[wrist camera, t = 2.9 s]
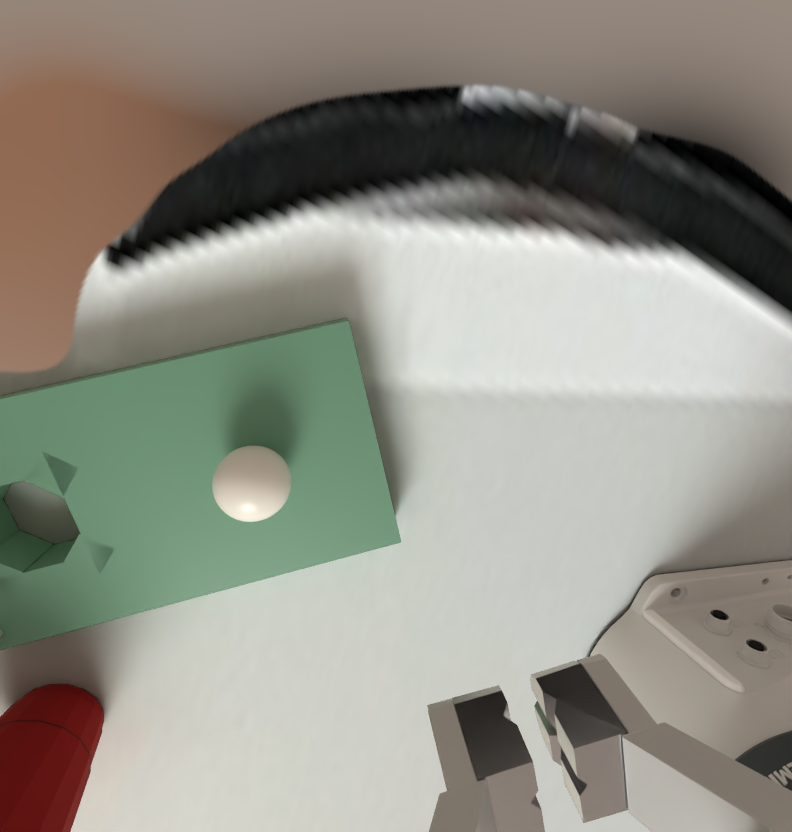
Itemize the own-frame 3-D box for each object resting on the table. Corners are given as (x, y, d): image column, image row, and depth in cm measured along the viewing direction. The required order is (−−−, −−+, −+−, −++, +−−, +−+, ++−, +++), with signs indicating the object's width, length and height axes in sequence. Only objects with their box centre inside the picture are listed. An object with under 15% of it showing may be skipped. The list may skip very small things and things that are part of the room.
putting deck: (346, 317, 27) (367, 343, 13) (399, 541, 32) (458, 745, 17) (-109, 420, 25) (-687, 586, 11) (17, 644, 30) (-274, 972, 15)
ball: (283, 428, 25) (275, 452, 22) (301, 491, 27) (297, 524, 23) (212, 445, 25) (191, 472, 21) (234, 508, 26) (218, 545, 22)
